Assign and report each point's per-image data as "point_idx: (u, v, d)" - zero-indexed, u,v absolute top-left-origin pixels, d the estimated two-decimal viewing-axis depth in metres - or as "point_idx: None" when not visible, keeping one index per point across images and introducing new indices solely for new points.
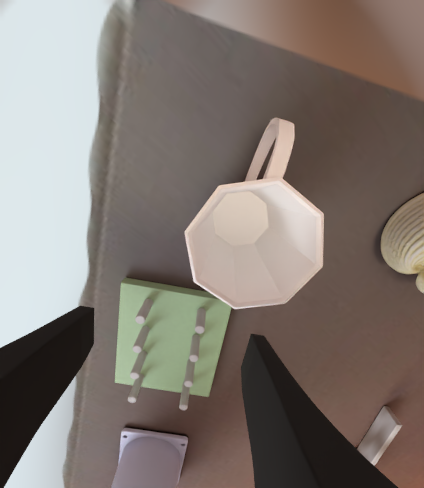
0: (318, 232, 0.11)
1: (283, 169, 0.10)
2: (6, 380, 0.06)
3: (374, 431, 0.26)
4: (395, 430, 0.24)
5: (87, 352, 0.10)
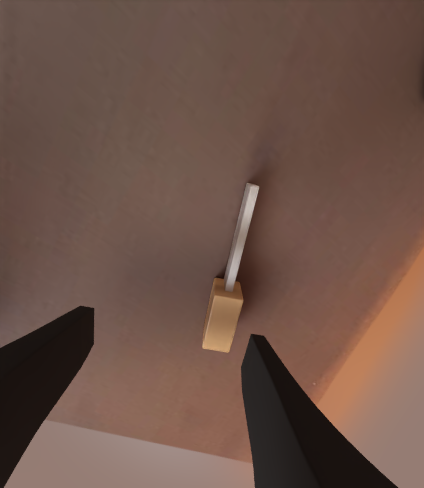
0: None
1: None
2: (6, 380, 0.06)
3: (236, 228, 0.17)
4: (249, 197, 0.15)
5: (87, 352, 0.10)
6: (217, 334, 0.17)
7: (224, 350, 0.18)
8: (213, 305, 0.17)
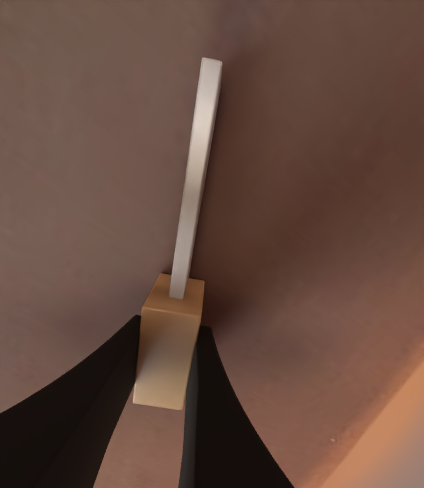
0: None
1: None
2: (100, 394, 0.06)
3: None
4: (202, 90, 0.07)
5: None
6: (157, 379, 0.09)
7: (173, 407, 0.10)
8: (142, 327, 0.08)
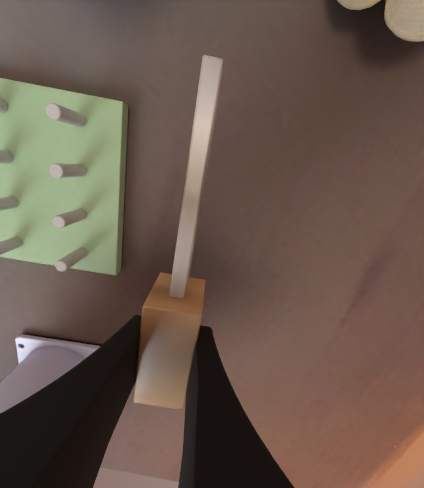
0: None
1: None
2: (100, 394, 0.06)
3: None
4: (203, 87, 0.07)
5: None
6: (157, 378, 0.09)
7: (174, 406, 0.10)
8: (143, 326, 0.08)
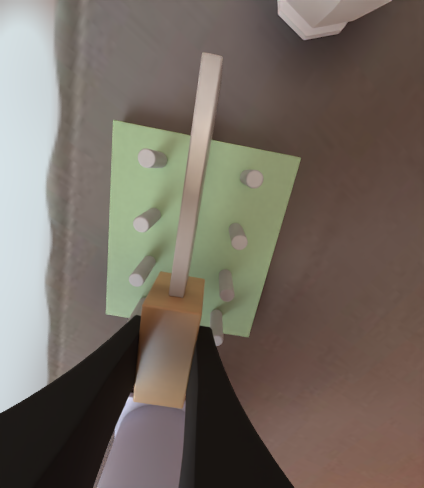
0: None
1: None
2: (100, 394, 0.06)
3: None
4: (202, 85, 0.07)
5: None
6: (157, 378, 0.09)
7: (173, 405, 0.10)
8: (142, 325, 0.08)
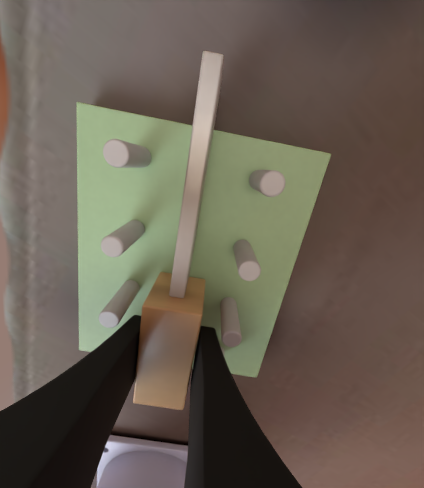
0: None
1: None
2: (97, 393, 0.06)
3: None
4: (202, 84, 0.06)
5: None
6: (157, 379, 0.09)
7: (174, 406, 0.10)
8: (142, 326, 0.08)
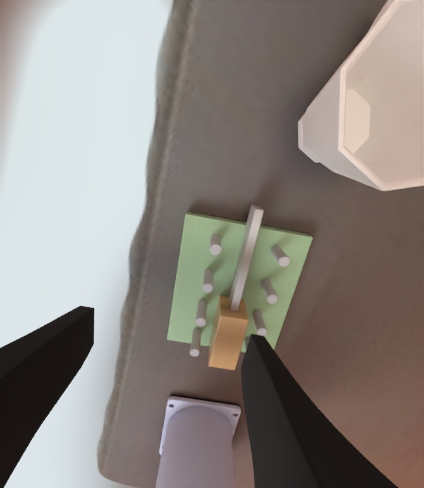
0: None
1: None
2: (6, 380, 0.06)
3: (241, 249, 0.17)
4: (254, 220, 0.15)
5: (87, 352, 0.10)
6: (223, 353, 0.18)
7: (230, 368, 0.18)
8: (219, 325, 0.17)
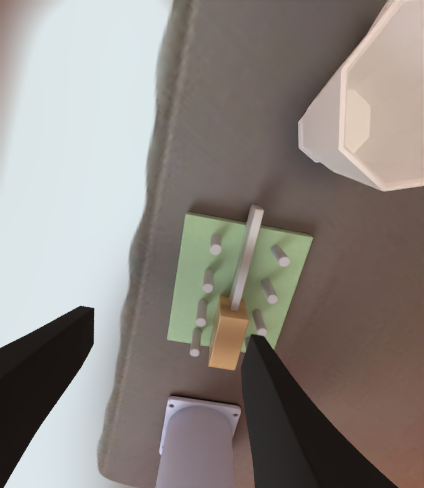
0: None
1: None
2: (6, 380, 0.06)
3: (241, 249, 0.17)
4: (254, 221, 0.15)
5: (87, 352, 0.10)
6: (223, 353, 0.18)
7: (230, 368, 0.18)
8: (219, 325, 0.17)
